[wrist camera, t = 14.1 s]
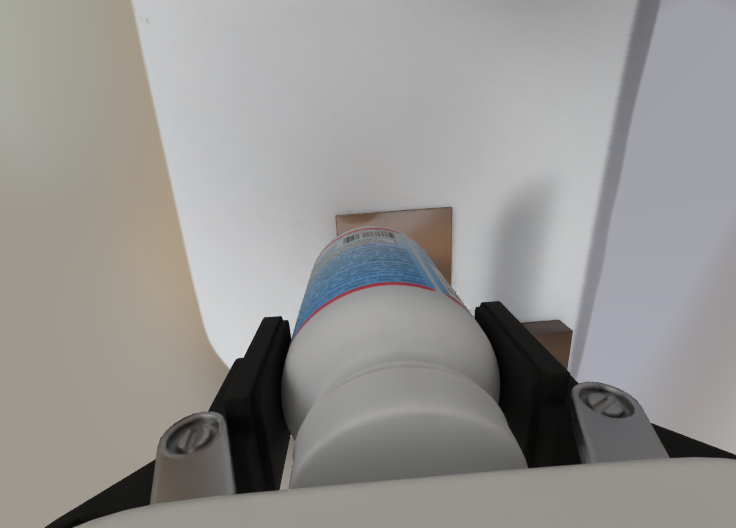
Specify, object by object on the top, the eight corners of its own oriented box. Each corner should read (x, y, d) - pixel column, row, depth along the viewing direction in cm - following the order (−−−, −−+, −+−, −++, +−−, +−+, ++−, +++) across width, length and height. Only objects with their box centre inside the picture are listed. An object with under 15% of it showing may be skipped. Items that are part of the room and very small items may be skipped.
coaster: (335, 215, 30) (335, 216, 29) (451, 206, 30) (452, 207, 29) (345, 319, 33) (345, 321, 32) (449, 310, 33) (450, 312, 33)
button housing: (469, 327, 34) (484, 350, 30) (559, 319, 34) (585, 341, 30) (466, 409, 37) (479, 439, 33) (548, 401, 37) (571, 430, 34)
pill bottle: (294, 316, 17) (206, 579, 7) (336, 203, 16) (307, 320, 5) (403, 352, 18) (475, 632, 8) (454, 250, 17) (635, 429, 6)
